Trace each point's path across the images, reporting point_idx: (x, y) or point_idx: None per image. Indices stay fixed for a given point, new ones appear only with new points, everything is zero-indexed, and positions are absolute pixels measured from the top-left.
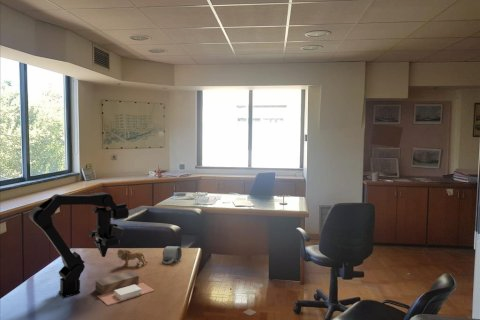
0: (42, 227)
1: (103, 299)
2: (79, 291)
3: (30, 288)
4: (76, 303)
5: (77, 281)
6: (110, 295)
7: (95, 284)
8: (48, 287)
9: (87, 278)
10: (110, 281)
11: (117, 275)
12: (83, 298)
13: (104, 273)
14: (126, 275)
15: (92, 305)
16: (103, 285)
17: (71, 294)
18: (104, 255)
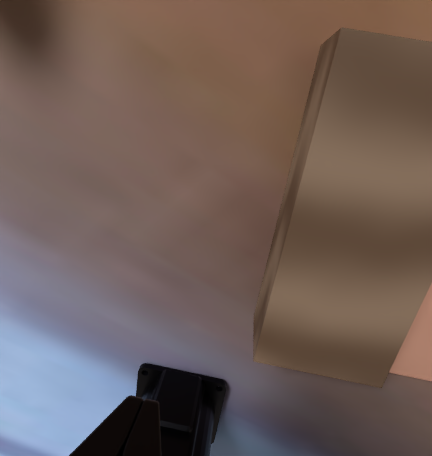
0: None
1: (422, 371)
2: (218, 385)
3: (8, 449)
4: (321, 442)
5: (194, 440)
6: (418, 323)
7: (254, 340)
8: (45, 413)
9: (48, 248)
10: (372, 317)
11: (314, 206)
12: (300, 402)
13: (28, 118)
14: (394, 149)
15: (414, 422)
16: (384, 381)
17: (219, 417)
18: (157, 432)
